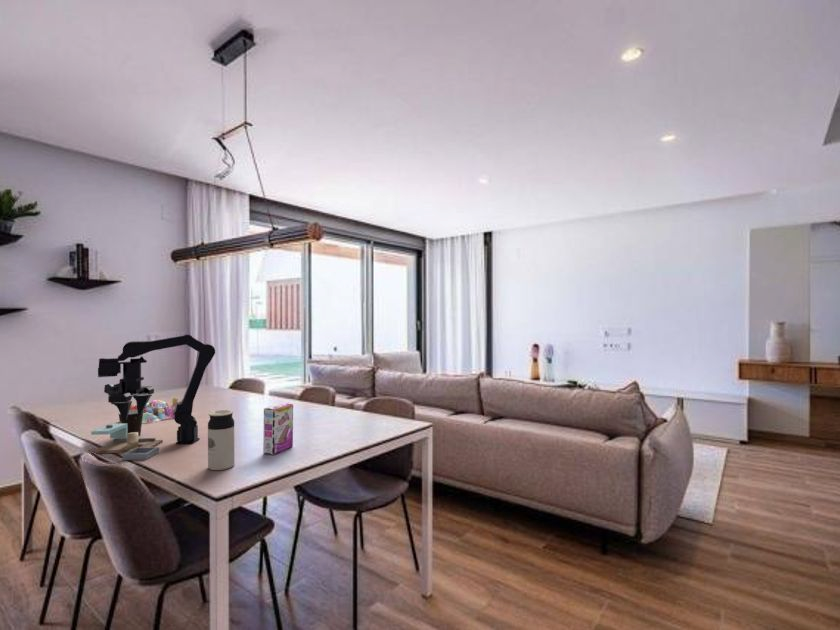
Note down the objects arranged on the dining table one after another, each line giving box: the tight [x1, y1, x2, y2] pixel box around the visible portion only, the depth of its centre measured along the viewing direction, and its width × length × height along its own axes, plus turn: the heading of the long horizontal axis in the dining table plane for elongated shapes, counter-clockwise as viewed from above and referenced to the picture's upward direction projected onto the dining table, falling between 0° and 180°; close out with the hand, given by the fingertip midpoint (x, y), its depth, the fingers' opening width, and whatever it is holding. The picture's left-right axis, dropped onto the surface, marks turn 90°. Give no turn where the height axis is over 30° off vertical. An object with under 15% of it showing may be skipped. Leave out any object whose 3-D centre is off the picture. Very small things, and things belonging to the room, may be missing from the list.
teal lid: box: [90, 423, 128, 439], centre depth 168 cm, size 6×11×6 cm, turn 2°
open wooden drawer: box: [93, 437, 164, 454], centre depth 169 cm, size 18×12×2 cm
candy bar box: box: [262, 402, 294, 456], centre depth 164 cm, size 11×5×16 cm, turn 159°
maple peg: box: [127, 432, 139, 449], centre depth 166 cm, size 4×4×6 cm
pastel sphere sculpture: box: [130, 397, 181, 424], centre depth 218 cm, size 25×24×9 cm
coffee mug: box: [118, 410, 143, 437], centre depth 183 cm, size 12×9×10 cm
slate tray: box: [122, 446, 160, 461], centre depth 158 cm, size 8×8×2 cm
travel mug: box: [207, 409, 236, 471], centre depth 147 cm, size 8×8×18 cm
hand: (132, 417), depth 166 cm, fingers open, 9 cm apart
